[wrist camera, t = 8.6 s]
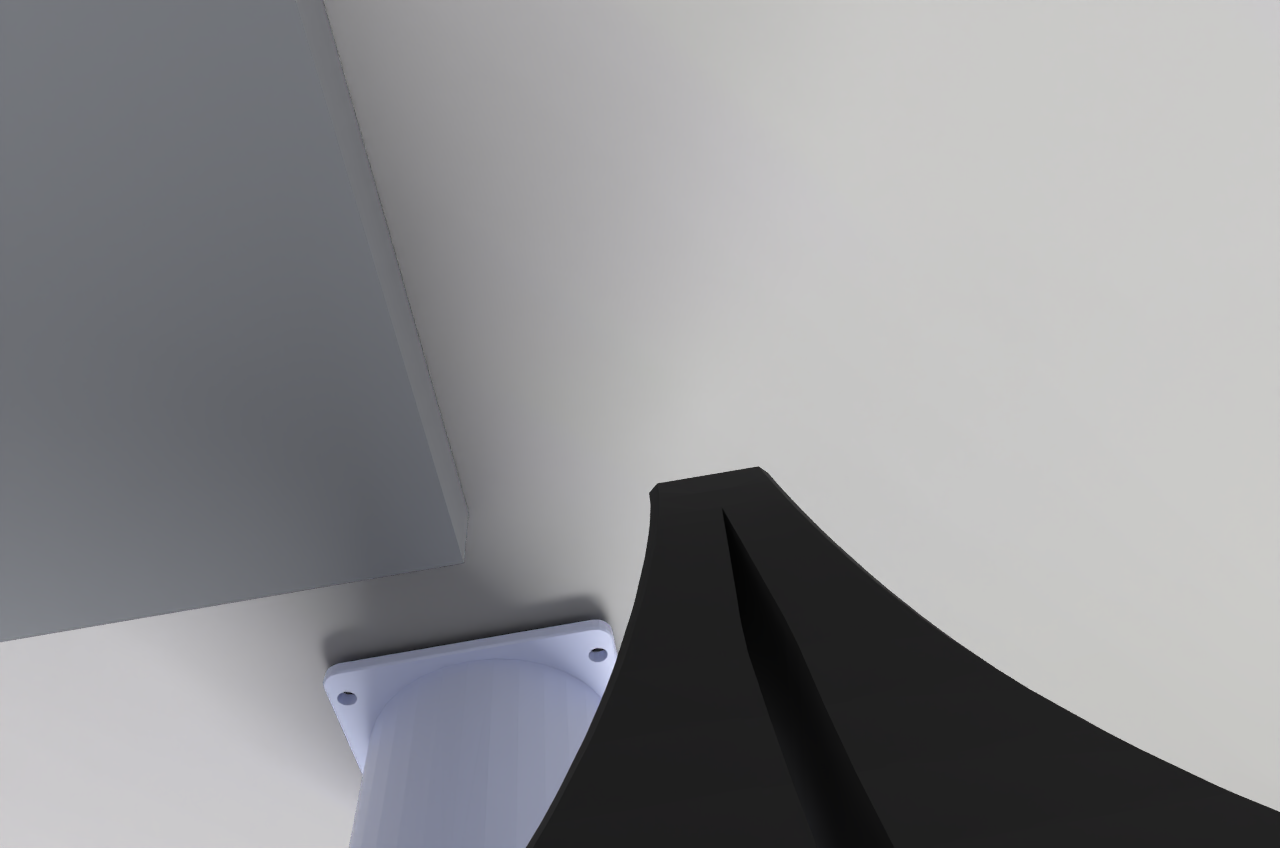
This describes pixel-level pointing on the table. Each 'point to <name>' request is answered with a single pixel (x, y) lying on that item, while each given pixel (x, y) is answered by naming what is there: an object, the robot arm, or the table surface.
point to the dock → (199, 321)
